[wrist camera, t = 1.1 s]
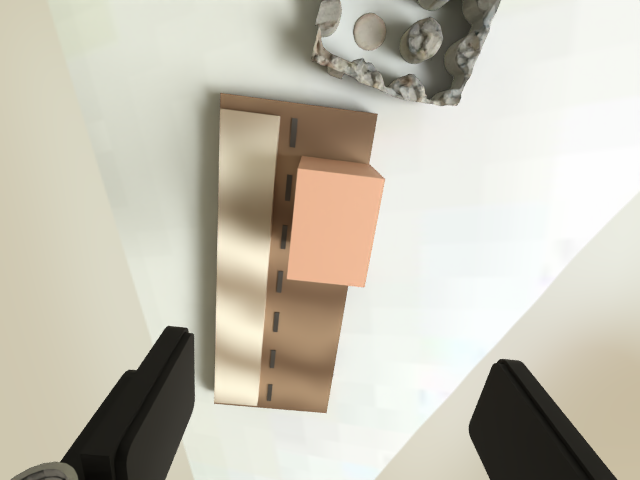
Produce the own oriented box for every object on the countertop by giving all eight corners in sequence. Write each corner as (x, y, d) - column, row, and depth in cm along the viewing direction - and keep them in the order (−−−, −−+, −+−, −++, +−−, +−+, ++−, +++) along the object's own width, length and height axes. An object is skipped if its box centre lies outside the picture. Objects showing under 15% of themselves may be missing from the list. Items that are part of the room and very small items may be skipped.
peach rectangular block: (301, 155, 25) (297, 168, 19) (369, 164, 25) (385, 179, 19) (292, 244, 27) (286, 279, 22) (354, 251, 27) (364, 287, 22)
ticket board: (225, 94, 25) (217, 92, 23) (374, 113, 25) (379, 113, 23) (218, 391, 34) (212, 410, 32) (325, 400, 35) (326, 419, 33)
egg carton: (304, 69, 25) (302, 61, 21) (338, -53, 22) (342, -88, 18) (439, 117, 26) (460, 117, 22) (485, 5, 23) (518, -16, 19)
